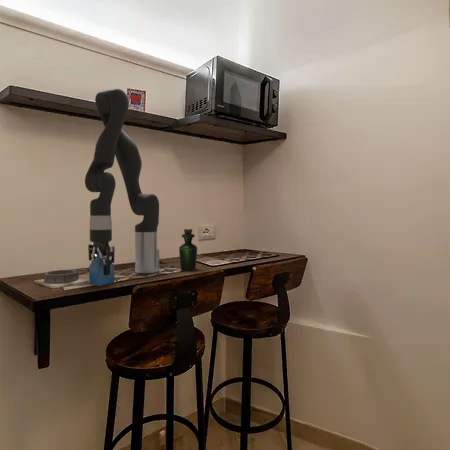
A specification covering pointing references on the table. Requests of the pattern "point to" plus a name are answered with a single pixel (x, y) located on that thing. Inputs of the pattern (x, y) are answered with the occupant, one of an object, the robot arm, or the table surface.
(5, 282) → the table surface
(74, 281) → the hub board
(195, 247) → the potion bottle
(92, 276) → the perfume bottle
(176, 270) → the table surface
